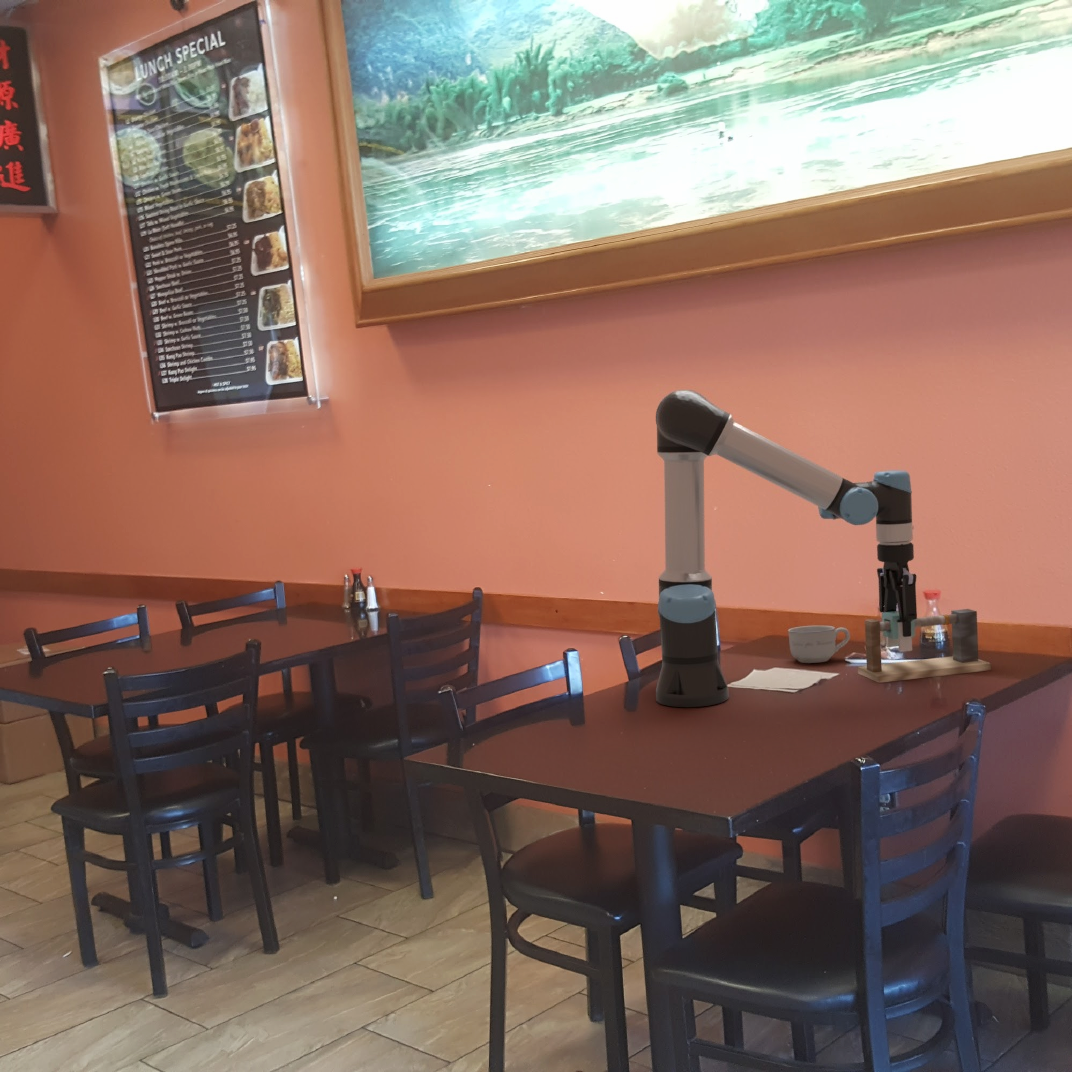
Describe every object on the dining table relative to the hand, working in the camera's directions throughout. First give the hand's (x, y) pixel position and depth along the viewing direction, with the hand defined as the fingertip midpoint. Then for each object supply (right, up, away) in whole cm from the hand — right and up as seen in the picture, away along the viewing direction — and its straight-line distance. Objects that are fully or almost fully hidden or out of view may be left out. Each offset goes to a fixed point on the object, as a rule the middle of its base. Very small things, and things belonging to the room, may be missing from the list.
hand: (899, 648), depth 260 cm
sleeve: (0, +3, 0) cm, 3 cm away
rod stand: (+6, -5, +1) cm, 8 cm away
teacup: (-13, -5, +20) cm, 24 cm away
